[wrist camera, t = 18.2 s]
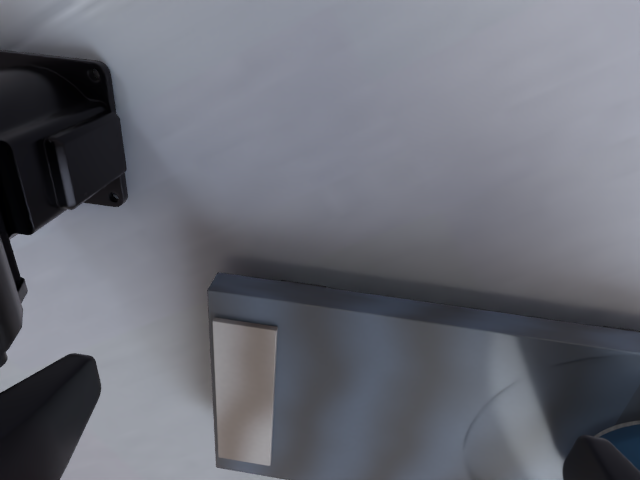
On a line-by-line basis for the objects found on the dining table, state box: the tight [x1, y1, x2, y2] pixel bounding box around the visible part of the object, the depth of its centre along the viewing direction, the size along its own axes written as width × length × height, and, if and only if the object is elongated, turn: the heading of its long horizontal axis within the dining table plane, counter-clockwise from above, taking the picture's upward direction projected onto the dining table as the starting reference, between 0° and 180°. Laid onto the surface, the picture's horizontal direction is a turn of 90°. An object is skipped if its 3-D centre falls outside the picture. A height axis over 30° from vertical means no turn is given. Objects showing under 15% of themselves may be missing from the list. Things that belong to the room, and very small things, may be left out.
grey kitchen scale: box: [207, 273, 640, 480], centre depth 24 cm, size 26×13×3 cm, turn 85°
